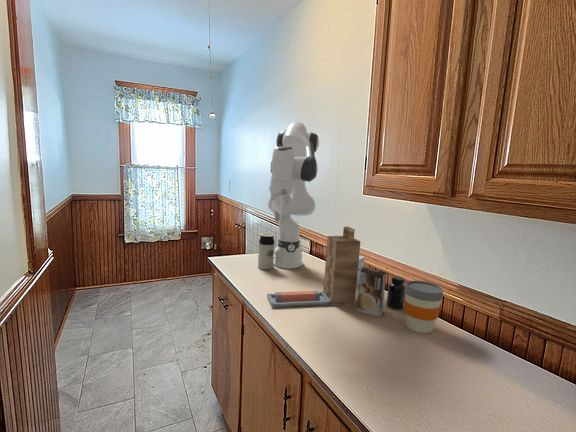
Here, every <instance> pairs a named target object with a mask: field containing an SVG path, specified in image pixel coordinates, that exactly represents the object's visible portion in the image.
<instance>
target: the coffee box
mask: <svg viewBox="0 0 576 432" xmlns="http://www.w3.org/2000/svg"><path fill="white" fill-rule="evenodd" d="M386 276H387V271H384V270H377V269H373V268H370V267H369V268H367V267H364V268H363V269H362V270H361V271H360V277H359V283H358V290H357V303H356V312H360V313H363V314H367V315H371V316H375V317H377V318H379V317H381V316H382V314H383V312H384V311H383V310H384V300H385V299H384V298H385V289H386V288H385V287H386V281H387V280H386V279H387V277H386Z"/></svg>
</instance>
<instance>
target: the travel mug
mask: <svg viewBox="0 0 576 432" xmlns="http://www.w3.org/2000/svg"><path fill="white" fill-rule="evenodd" d="M259 236H260V238H259V239H258V255H257V256H258V260H257V261H258V262H257V268H258V269H261V270H263V271H264V270H266V271H268V270H271V269H273V268H274V266H273V260H274V256H275V255H274V251H275V239H274V237H275V234H273V233H271V232H262V233H259Z"/></svg>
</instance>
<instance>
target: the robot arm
mask: <svg viewBox="0 0 576 432" xmlns="http://www.w3.org/2000/svg"><path fill="white" fill-rule="evenodd" d="M275 140H276V141H275V142H276V143H275V144H276V146H275V147H274V148H273V152H272V157H271V162H270V173H271V177H270V185H269V192H270V196H269V198H268V200H267V206H268V209H269V210H270V212H271V213H273V215H274V221H275V222H276V223H278V239H277V246H276V247H275V248H274V260H273V267H277V268H281V269H297V268H299V267H301V266H305V263H304V261H303V250H302V249H301V248H300V247H301V241H300V234H301V233H300V232H301V227H300V225H299V223H298V222H296V221H295V220H293V219H292V216H300V217H301V216H302V217H303V216H311V215H312V214H313V212H315V209H316V202H315V200H314V198H313V197H312V196H311V195H310V193H309V192H308V191H307V188H306V182H307V183H310V182H312V181H313V180H315V179H316V178H317V175H318V172H319V167H318V166H319V165H318V162H317V159H316V155H315V153H316V152H317V150H318V148H319V145H320V139H319V136H318V134H317V133H314V132H307V127H306V125H305V124H304V123H302V122H301V121H294V122H292V123H290V124H289V125H288V126H287V127H286V129H284V130H280V131H279V132H278V134H277V136H276V139H275ZM291 215H292V216H291Z"/></svg>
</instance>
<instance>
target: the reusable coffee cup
mask: <svg viewBox="0 0 576 432" xmlns="http://www.w3.org/2000/svg"><path fill="white" fill-rule="evenodd" d="M404 292H405V298H404V308H403V310H404V311H403V312H405V326H406V327H407V328H408V329H410V331H413V332H417V333H420V334H430V333H432V332H433V330H434V326H435V323H436V320H438V317H439V314H440V311H441V307H442V304H441V302H442V300H443V299H444V289H443V288H442V287H441V285H440V286H439V285H437V284H436V283H432V282H429V281H424V280H407V281H406V283H405V290H404Z"/></svg>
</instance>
